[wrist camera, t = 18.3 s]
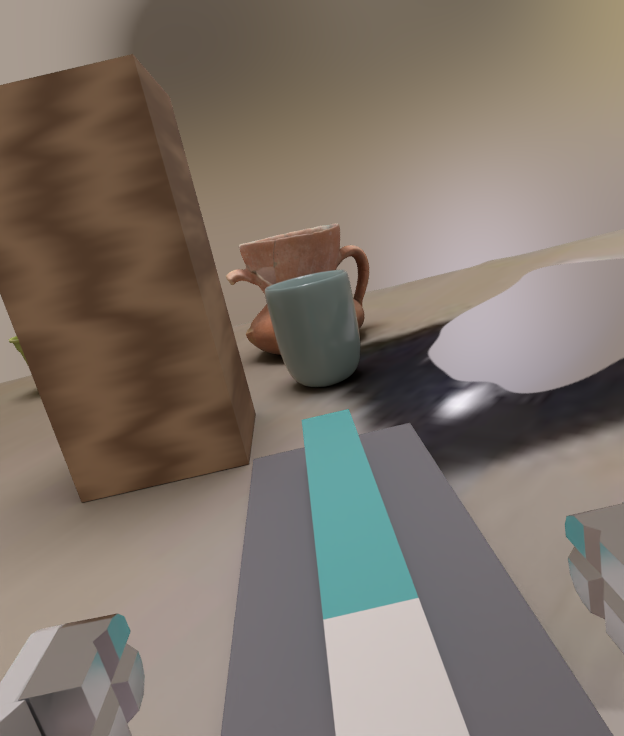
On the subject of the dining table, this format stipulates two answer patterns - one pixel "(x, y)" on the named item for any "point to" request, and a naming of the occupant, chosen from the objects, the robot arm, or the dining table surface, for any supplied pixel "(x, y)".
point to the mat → (434, 589)
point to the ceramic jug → (295, 270)
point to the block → (370, 599)
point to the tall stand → (116, 281)
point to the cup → (316, 327)
